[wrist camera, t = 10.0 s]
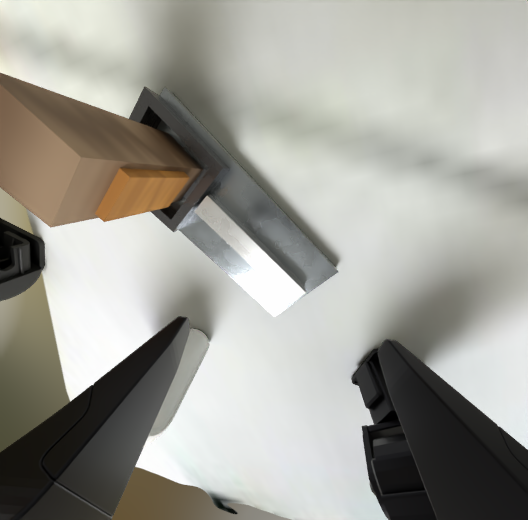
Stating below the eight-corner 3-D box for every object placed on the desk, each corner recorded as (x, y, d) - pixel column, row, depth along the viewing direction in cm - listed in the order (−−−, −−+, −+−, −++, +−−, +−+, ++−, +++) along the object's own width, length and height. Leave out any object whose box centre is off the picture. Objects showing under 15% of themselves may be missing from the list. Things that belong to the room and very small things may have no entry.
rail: (336, 267, 20) (342, 281, 18) (275, 311, 24) (273, 328, 21) (171, 91, 16) (147, 74, 14) (126, 174, 20) (98, 174, 17)
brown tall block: (208, 174, 17) (94, 169, 7) (184, 205, 19) (62, 236, 9) (168, 133, 17) (-21, 65, 7) (146, 169, 18) (-36, 158, 8)
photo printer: (173, 367, 31) (104, 476, 20) (152, 350, 30) (68, 455, 19) (216, 342, 27) (161, 457, 16) (194, 322, 26) (120, 429, 15)
